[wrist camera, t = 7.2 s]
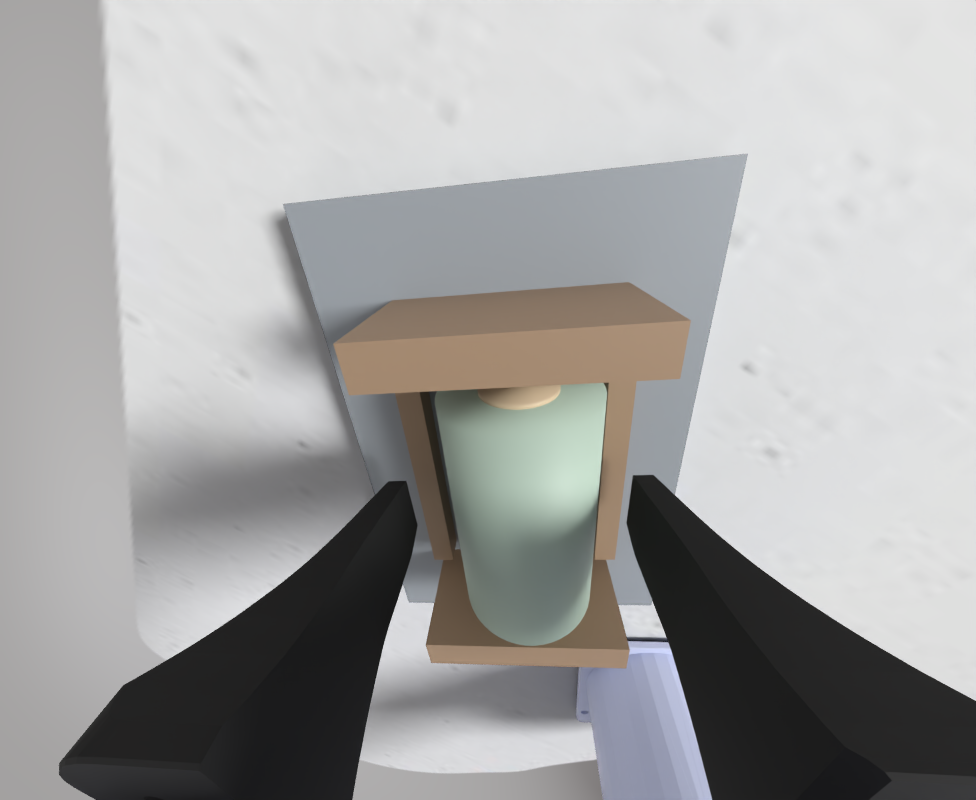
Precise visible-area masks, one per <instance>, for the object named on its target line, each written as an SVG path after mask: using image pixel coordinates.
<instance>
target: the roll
mask: <svg viewBox="0 0 976 800" xmlns="http://www.w3.org/2000/svg"><path fill="white" fill-rule="evenodd" d="M606 401H607V390H606V387H605V385H604V383H590V384H570V385H550V386H529V387H509V388H489V389H469V390H449V391H437V393H436V395H435V407H436V412H437V418H438V424H439V430H440V435H441V441H442V447H443V452H444V458H445V464H446V469H447V475H448V481H449V486H450V492H451V498H452V503H453V509H454V515H455V521H456V526H457V532H458V538H459V543H460V549H461V555H462V560H463V566H464V572H465V577H466V583H467V589H468V594H469V599H470V603H471V606H472V608H473V610H474V612H475V614H476V616H477V617H478V619H479V620H480V621H481V623H482V624H483V625H484V626H485V627H486V628H487V629H488V630H489V631H491V632H492V633H493V634H495V635H496V636H498V637H500V638H502V639H504V640H506V641H508V642H511V643H515V644H519V645H525V646H537V645H545V644H548V643H552V642H555V641H557V640H559V639H561V638H563V637H565V636H566V635H568V634H569V633H570V632H571V631H573V630H574V629H575V628H576V627H577V625H578V624H579V623H580V622H581V620H582V618H583V617H584V615H585V613H586V610H587V608H588V604H589V600H590V589H591V577H592V565H593V553H594V542H595V530H596V518H597V506H598V495H599V483H600V471H601V460H602V448H603V436H604V424H605V413H606Z"/></svg>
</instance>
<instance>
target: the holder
mask: <svg viewBox="0 0 976 800" xmlns="http://www.w3.org/2000/svg"><path fill="white" fill-rule="evenodd" d="M747 155H748V154H740V155H731V156H722V157H713V158H703V159H694V160H685V161H676V162H667V163H657V164H648V165H639V166H630V167H620V168H611V169H602V170H593V171H584V172H574V173H565V174H556V175H547V176H537V177H528V178H519V179H510V180H501V181H491V182H482V183H473V184H464V185H454V186H445V187H436V188H427V189H418V190H408V191H399V192H390V193H381V194H371V195H362V196H353V197H344V198H335V199H325V200H316V201H307V202H298V203H288V204H283V206H284V209H285V212H286V215H287V219H288V222H289V225H290V228H291V231H292V234H293V237H294V241H295V244H296V247H297V250H298V253H299V256H300V260H301V263H302V266H303V269H304V272H305V275H306V279H307V282H308V285H309V288H310V291H311V294H312V298H313V301H314V304H315V307H316V310H317V313H318V317H319V320H320V323H321V326H322V329H323V332H324V336H325V339H326V342H327V345H328V348H329V351H330V354H331V358H332V361H333V364H334V367H335V370H336V373H337V377H338V380H339V383H340V386H341V389H342V392H343V396H344V399H345V402H346V405H347V408H348V411H349V415H350V418H351V421H352V424H353V427H354V430H355V434H356V437H357V440H358V443H359V446H360V449H361V452H362V456H363V459H364V462H365V465H366V468H367V471H368V475H369V478H370V481H371V484H372V487H373V490H374V494H375V495H376V494H377V493H378V491H379V490H380V489H381V488H382V487H383V486H384V485H385V484H386V483H387V482H388V481H406V482H407V485H408V489H409V493H410V497H411V501H412V505H413V509H414V513H415V517H416V521H417V525H418V526H417V532H416V537H415V542H414V547H413V552H412V556H411V559H410V563H409V566H408V569H407V572H406V575H405V578H404V581H403V585H404V588H405V592H406V595H407V598H408V601H409V602H417V603H434V608H433V612H432V617H431V622H430V627H429V632H428V637H427V642H426V647H427V650H428V653H429V657H430V660H431V663H454V664H489V665H523V666H557V667H592V668H627V662H628V657H629V652H630V649H629V645H628V641H627V637H626V633H625V630H624V626H623V622H622V618H621V614H620V611H619V607H618V605H651V603H652V598H651V596H650V593H649V591H648V588H647V586H646V583H645V581H644V578H643V575H642V573H641V570H640V568H639V565H638V562H637V560H636V557H635V554H634V551H633V547H632V543H631V539H630V535H629V531H628V527H627V523H626V522H627V515H628V508H629V500H630V493H631V485H632V478H633V475H654V476H655V477H656V478H657V479H658V480H660V481H661V482H662V483H663V484H664V485H665V486H666V487H667V488H668V489H669V490H670V491H671V492H672V493H673V494H674V495H675V491H676V487H677V482H678V477H679V473H680V468H681V463H682V459H683V454H684V449H685V445H686V440H687V435H688V431H689V426H690V421H691V417H692V412H693V407H694V403H695V398H696V393H697V389H698V384H699V379H700V375H701V370H702V365H703V361H704V356H705V351H706V347H707V342H708V337H709V333H710V328H711V323H712V319H713V314H714V309H715V305H716V300H717V295H718V291H719V286H720V281H721V277H722V272H723V267H724V263H725V258H726V253H727V248H728V244H729V239H730V234H731V230H732V225H733V220H734V216H735V211H736V206H737V202H738V197H739V192H740V188H741V183H742V178H743V174H744V169H745V164H746V160H747ZM590 383H604V385H605V387H606V390H607V401H606V413H605V424H604V436H603V448H602V460H601V471H600V483H599V495H598V506H597V518H596V530H595V542H594V553H593V565H592V577H591V589H590V600H589V604H588V608H587V610H586V613H585V615H584V617H583V618H582V620H581V622H580V623H579V624H578V625H577V627H576V628H575V629H574V630H573V631H571V632H570V633H569V634H568V635H566V636H565V637H563V638H561V639H559V640H557V641H555V642H552V643H548V644H545V645H537V646H525V645H519V644H515V643H511V642H508V641H506V640H504V639H502V638H500V637H498V636H496V635H495V634H493V633H492V632H491V631H489V630H488V629H487V628H486V627H485V626H484V625H483V624H482V623H481V621H480V620H479V619H478V617H477V616H476V614H475V612H474V610H473V608H472V606H471V603H470V599H469V594H468V589H467V583H466V577H465V572H464V566H463V560H462V555H461V549H460V543H459V538H458V532H457V526H456V521H455V515H454V509H453V503H452V498H451V492H450V486H449V481H448V475H447V469H446V464H445V458H444V452H443V447H442V441H441V435H440V430H439V424H438V418H437V412H436V407H435V395H436V393H437V391H449V390H469V389H489V388H509V387H529V386H550V385H570V384H590Z"/></svg>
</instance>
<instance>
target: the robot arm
mask: <svg viewBox="0 0 976 800" xmlns="http://www.w3.org/2000/svg"><path fill="white" fill-rule="evenodd" d="M626 523H627V527H628V531H629V535H630V539H631V543H632V547H633V551H634V554H635V557H636V560H637V562H638V565H639V568H640V570H641V573H642V575H643V578H644V581H645V583H646V586H647V588H648V591H649V593H650V596H651V598H652V601H653V603H654V606H655V608H656V611H657V614H658V616H659V619H660V621H661V624H662V626H663V629H664V631H665V634H666V637H667V640H668V642H640V641H628V645H629V649H630V652H629V657H628V662H627V668H592V667H579V672H578V688H577V703H576V717H577V720H579V721H581V722H591V723H592V730H593V737H594V743H595V750H596V757H597V763H598V770H599V776H600V783H601V789H602V795H603V800H976V701H975V700H973V699H971V698H969V697H967V696H965V695H963V694H962V693H960V692H958V691H956V690H954V689H952V688H950V687H949V686H947V685H945V684H943V683H941V682H939V681H937V680H936V679H934V678H932V677H930V676H928V675H926V674H924V673H923V672H921V671H919V670H917V669H915V668H914V667H912V666H910V665H908V664H907V663H905V662H903V661H902V660H900V659H898V658H896V657H895V656H893V655H891V654H890V653H888V652H886V651H884V650H883V649H881V648H879V647H878V646H876V645H874V644H872V643H871V642H869V641H867V640H866V639H864V638H863V637H861V636H859V635H858V634H856V633H854V632H853V631H851V630H850V629H848V628H846V627H845V626H843V625H841V624H840V623H838V622H837V621H835V620H834V619H832V618H831V617H829V616H828V615H826V614H825V613H823V612H821V611H820V610H818V609H817V608H815V607H814V606H812V605H811V604H809V603H808V602H806V601H805V600H803V599H802V598H800V597H799V596H797V595H796V594H794V593H793V592H792V591H790V590H789V589H787V588H786V587H784V586H783V585H782V584H780V583H779V582H778V581H776V580H775V579H773V578H772V577H771V576H769V575H768V574H767V573H765V572H764V571H762V570H761V569H760V568H758V567H757V566H756V565H755V564H753V563H752V562H751V561H749V560H748V559H747V558H746V557H744V556H743V555H742V554H741V553H739V552H738V551H737V550H736V549H734V548H733V547H732V546H731V545H730V544H728V543H727V542H726V541H725V540H723V539H722V538H721V537H720V536H719V535H718V534H716V533H715V532H714V531H713V530H712V529H711V528H710V527H709V526H708V525H706V524H705V523H704V522H703V521H702V520H701V519H700V518H699V517H697V516H696V515H695V514H694V513H693V512H692V511H691V510H690V509H689V508H688V507H687V506H686V505H685V504H684V503H682V502H681V501H680V500H679V499H678V498H677V497H676V496H675V495H674V494H673V493H672V492H671V491H670V490H669V489H668V488H667V487H666V486H665V485H664V484H663V483H662V482H661V481H660V480H658V479H657V478H656V477H655V476H654V475H633V478H632V485H631V493H630V500H629V508H628V515H627V522H626ZM417 526H418V525H417V521H416V517H415V513H414V509H413V505H412V501H411V497H410V493H409V489H408V485H407V482H406V481H388V482H387V483H386V484H385V485H384V486H383V487H382V488H381V489H380V490H379V491H378V493H377V494H376V495H375V496H374V497H373V498H372V499H371V500H370V501H369V502H368V503H367V504H366V505H365V506H364V507H363V508H362V509H361V510H360V512H359V513H358V514H357V515H356V516H355V517H354V518H353V519H352V520H351V521H350V522H349V523H348V524H347V525H346V526H345V527H344V528H343V529H342V530H341V531H340V532H339V533H338V534H337V535H336V536H335V537H334V538H333V539H331V540H330V541H329V542H328V543H327V544H326V545H325V546H324V547H323V548H322V549H321V550H320V551H319V552H318V553H317V554H316V555H314V556H313V557H312V558H311V559H310V560H309V561H308V562H306V563H305V564H304V565H303V566H302V567H301V568H299V569H298V570H297V571H296V572H295V573H293V574H292V575H291V576H290V577H288V578H287V579H286V580H285V581H284V582H282V583H281V584H280V585H278V586H277V587H276V588H275V589H273V590H272V591H270V592H269V593H268V594H266V595H265V596H264V597H262V598H261V599H260V600H258V601H257V602H255V603H254V604H253V605H251V606H250V607H249V608H247V609H246V610H245V611H243V612H242V613H240V614H239V615H237V616H236V617H235V618H233V619H232V620H230V621H229V622H227V623H226V624H224V625H223V626H221V627H220V628H218V629H217V630H215V631H214V632H212V633H210V634H209V635H207V636H206V637H204V638H203V639H201V640H200V641H198V642H196V643H195V644H193V645H192V646H190V647H188V648H187V649H185V650H183V651H182V652H180V653H179V654H177V655H175V656H173V657H172V658H170V659H168V660H167V661H165V662H163V663H161V664H160V665H158V666H156V667H155V668H153V669H151V670H150V671H148V672H146V673H144V674H143V675H141V676H139V677H137V678H136V679H134V680H132V681H130V682H128V683H127V684H125V685H123V687H122V688H121V689H120V690H119V691H118V692H117V694H116V695H115V696H114V697H113V699H112V700H111V701H110V702H109V704H108V705H107V706H106V707H105V708H104V709H103V711H102V712H101V713H100V714H99V716H98V717H97V718H96V719H95V720H94V722H93V723H92V724H91V725H90V726H89V728H88V729H87V730H86V731H85V733H84V734H83V735H82V736H81V737H80V739H79V740H78V741H77V742H76V744H75V745H74V746H73V747H72V748H71V750H70V751H69V752H68V753H67V754H66V756H65V757H64V758H63V759H62V760H61V762H60V763H59V775H60V776H61V777H62V779H63V780H64V781H66V782H67V783H68V784H70V785H71V786H73V787H74V788H76V789H78V790H80V791H81V792H83V793H85V794H87V795H88V796H90V797H92V798H94V799H96V800H352V798H353V792H354V786H355V779H356V774H357V768H358V763H359V758H360V753H361V748H362V742H363V737H364V732H365V727H366V722H367V717H368V712H369V707H370V703H371V698H372V693H373V689H374V684H375V679H376V675H377V671H378V666H379V662H380V658H381V653H382V649H383V645H384V641H385V637H386V634H387V630H388V627H389V624H390V621H391V618H392V615H393V612H394V609H395V606H396V603H397V600H398V597H399V593H400V590H401V587H402V584H403V581H404V578H405V575H406V572H407V569H408V566H409V563H410V559H411V556H412V552H413V547H414V542H415V537H416V532H417Z"/></svg>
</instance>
